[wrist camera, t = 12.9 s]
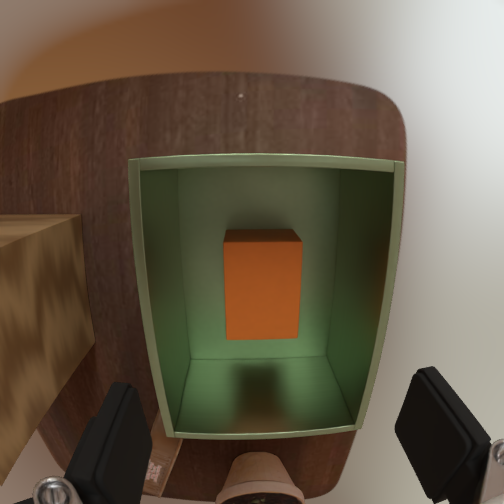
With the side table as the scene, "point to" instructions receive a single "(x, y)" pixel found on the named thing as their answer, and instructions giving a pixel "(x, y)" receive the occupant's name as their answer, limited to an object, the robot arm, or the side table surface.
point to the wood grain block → (38, 321)
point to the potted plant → (259, 482)
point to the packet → (262, 283)
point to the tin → (160, 458)
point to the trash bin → (311, 299)
